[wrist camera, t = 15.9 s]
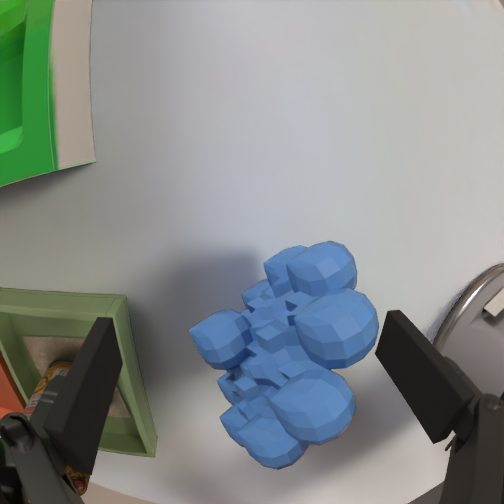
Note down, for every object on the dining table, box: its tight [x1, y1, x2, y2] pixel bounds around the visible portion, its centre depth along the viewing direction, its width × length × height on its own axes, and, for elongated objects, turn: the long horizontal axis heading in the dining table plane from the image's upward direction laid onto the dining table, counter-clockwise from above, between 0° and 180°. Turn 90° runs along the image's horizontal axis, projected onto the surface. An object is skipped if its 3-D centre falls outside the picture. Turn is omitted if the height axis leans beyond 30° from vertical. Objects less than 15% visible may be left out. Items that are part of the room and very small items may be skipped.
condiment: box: [22, 336, 131, 504], centre depth 14 cm, size 7×8×12 cm
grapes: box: [189, 241, 379, 470], centre depth 14 cm, size 12×7×12 cm, turn 159°
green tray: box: [0, 288, 158, 458], centre depth 19 cm, size 11×15×2 cm
